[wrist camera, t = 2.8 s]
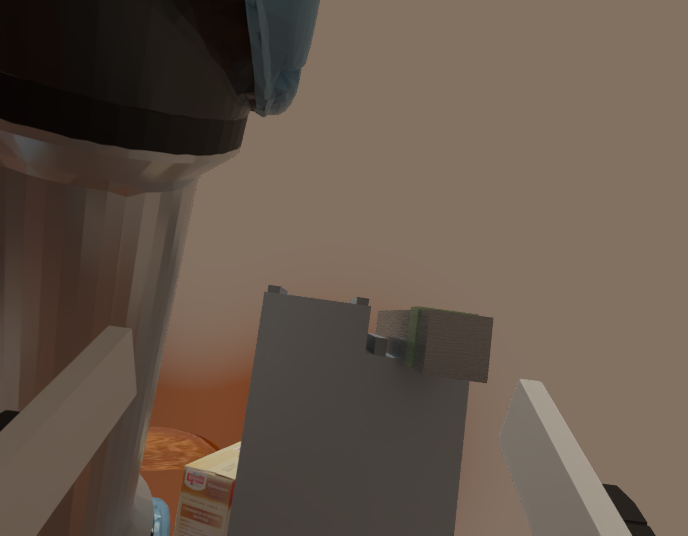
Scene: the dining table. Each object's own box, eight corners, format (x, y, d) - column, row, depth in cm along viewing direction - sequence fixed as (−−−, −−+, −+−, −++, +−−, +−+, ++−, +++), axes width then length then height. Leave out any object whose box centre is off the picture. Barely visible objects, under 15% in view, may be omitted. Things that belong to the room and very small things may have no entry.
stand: (431, 870, 32) (486, 314, 36) (169, 848, 31) (258, 282, 35) (405, 737, 42) (450, 314, 46) (205, 718, 41) (271, 289, 45)
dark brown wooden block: (488, 383, 27) (495, 314, 27) (421, 374, 27) (428, 305, 27) (409, 350, 51) (413, 314, 51) (373, 345, 50) (377, 309, 51)
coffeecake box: (204, 669, 46) (234, 479, 48) (150, 645, 49) (181, 464, 51) (269, 591, 60) (290, 446, 63) (225, 575, 63) (247, 435, 65)
